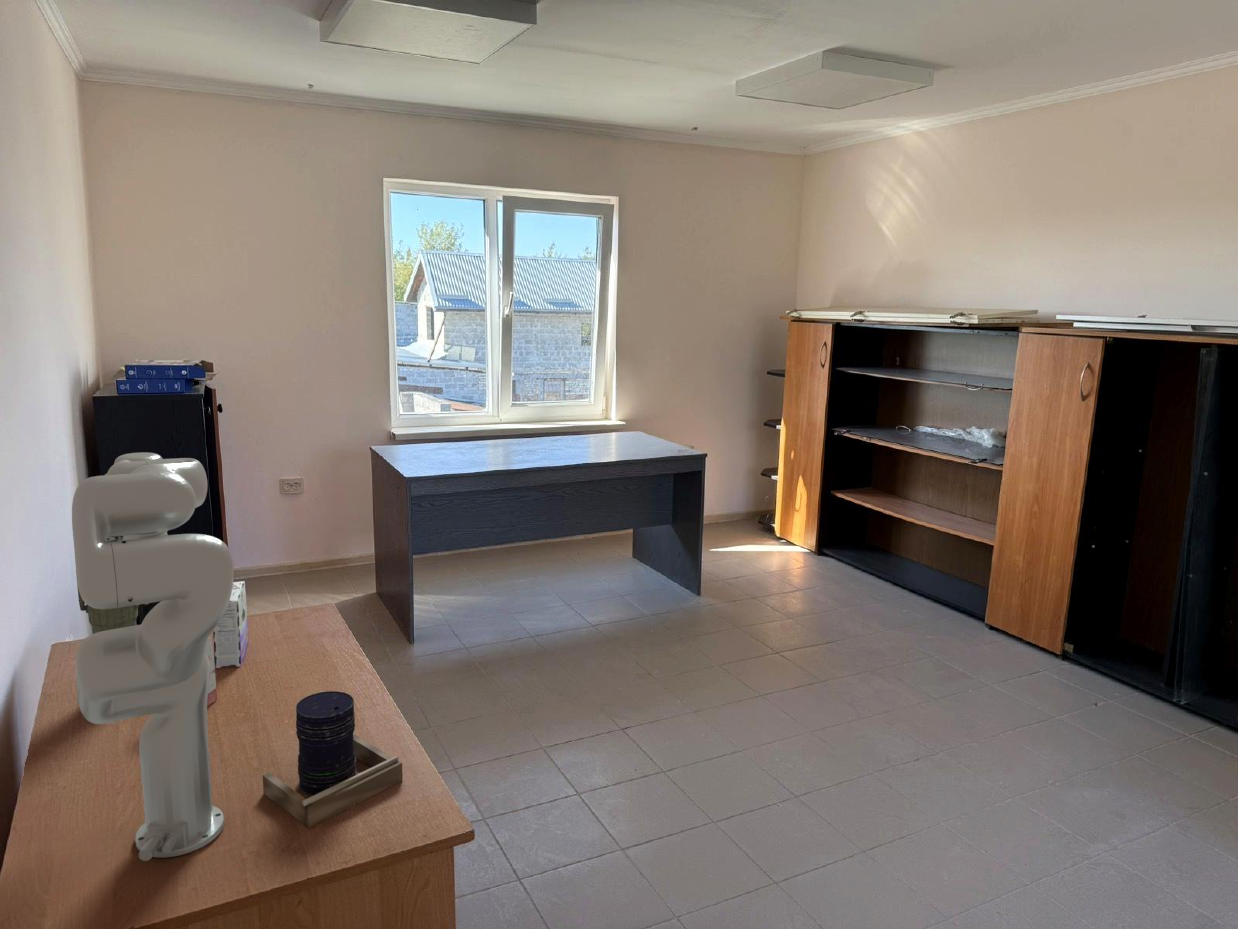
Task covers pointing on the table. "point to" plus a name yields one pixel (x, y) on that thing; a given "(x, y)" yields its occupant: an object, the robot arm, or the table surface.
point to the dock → (338, 787)
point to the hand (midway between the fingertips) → (151, 622)
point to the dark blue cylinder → (325, 740)
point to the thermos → (110, 612)
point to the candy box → (232, 630)
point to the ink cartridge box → (211, 674)
